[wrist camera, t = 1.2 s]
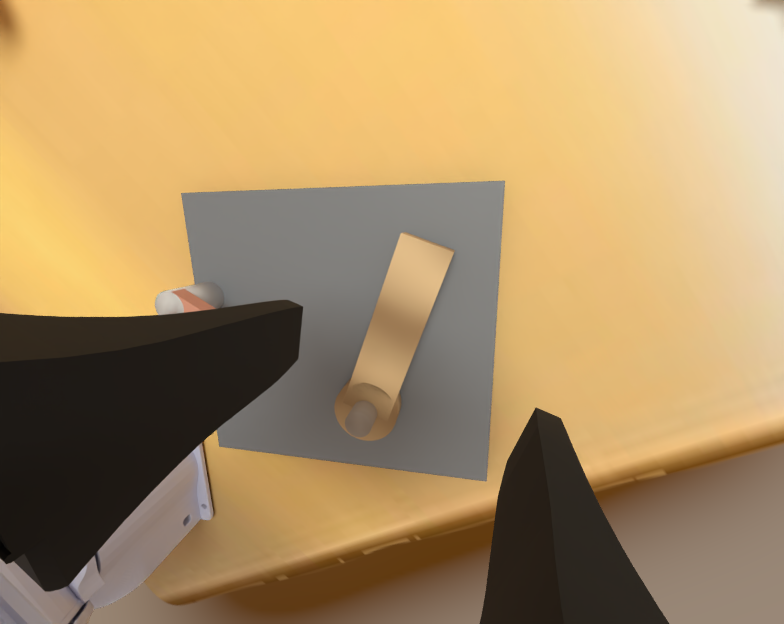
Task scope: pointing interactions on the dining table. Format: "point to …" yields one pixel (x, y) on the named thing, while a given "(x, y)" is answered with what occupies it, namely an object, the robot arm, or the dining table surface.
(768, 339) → the dining table surface
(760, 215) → the dining table surface
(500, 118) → the dining table surface
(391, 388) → the oak link
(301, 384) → the board
